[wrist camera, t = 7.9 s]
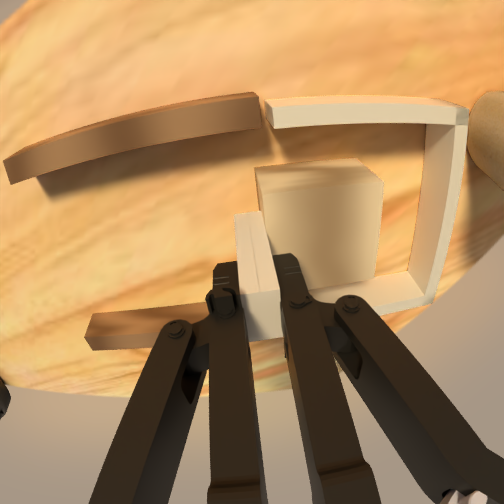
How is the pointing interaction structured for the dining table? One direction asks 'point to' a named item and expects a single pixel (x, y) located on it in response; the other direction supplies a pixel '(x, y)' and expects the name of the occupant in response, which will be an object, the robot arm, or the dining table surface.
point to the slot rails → (124, 139)
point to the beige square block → (323, 217)
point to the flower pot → (488, 135)
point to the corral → (432, 188)
